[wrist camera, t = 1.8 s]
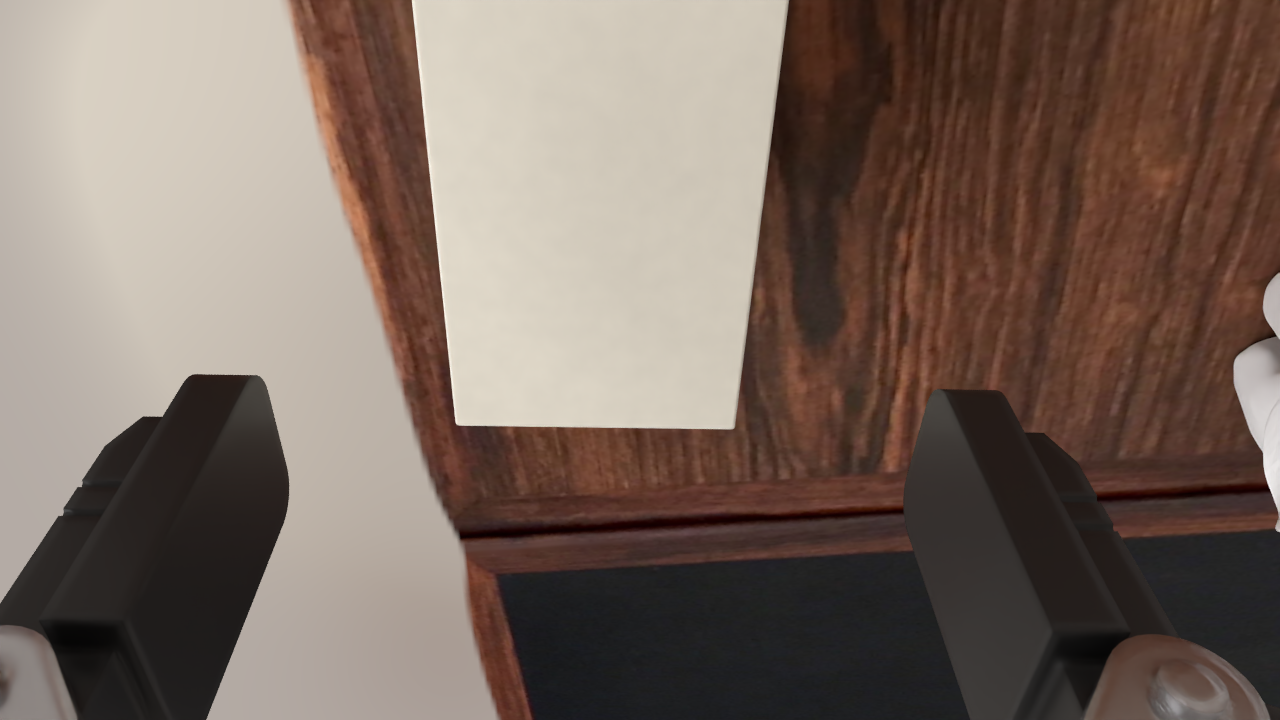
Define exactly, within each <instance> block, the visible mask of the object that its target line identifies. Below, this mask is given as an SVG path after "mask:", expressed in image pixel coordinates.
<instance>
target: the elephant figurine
mask: <svg viewBox="0 0 1280 720" xmlns="http://www.w3.org/2000/svg"><path fill="white" fill-rule="evenodd" d="M1263 311H1264V315H1265V318H1266V320H1267V322H1268V323H1269V325H1270V326H1271V328H1272V329H1273V331H1274V332H1275V334H1276V335H1277V336H1278V337H1273V338H1269V339H1265V340H1262V341H1260V342H1257V343H1255V344H1253V345H1251V346H1250V347H1248V348H1247V349H1246V350H1244V351H1243V352H1241V353H1240V354H1239V355H1238V356H1237V357H1236V359H1235V362H1234V385H1235V389H1236V392H1237V395H1238V398H1239V401H1240V403H1241V406H1242V409H1243V412H1244V415H1245V418H1246V421H1247V424H1248V427H1249V429H1250V432H1251V434H1252V436H1253V437H1254V439H1255V441H1256V442H1257V444H1258V446H1259V447H1260V449H1261V450H1262V452H1263V463H1264V471H1265V476H1266V479H1267V482H1268V485H1269V488H1270V490H1271V493H1272V495H1273V498H1274V501H1275V503H1276V506H1277V509H1278V513H1279V518H1278V521H1277V524H1276V527H1275V528H1276V530H1277V531H1278V532H1280V273H1278V274H1277V275H1276V276H1275V277H1274V278H1273V279H1272V280H1271V281H1270V283H1269V284H1268V286H1267V288H1266V291H1265V295H1264V301H1263Z"/></svg>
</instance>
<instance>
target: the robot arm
mask: <svg viewBox="0 0 1280 720" xmlns="http://www.w3.org/2000/svg"><path fill="white" fill-rule="evenodd" d="M82 481H83V485H82V487H78V488H77V489H76V491H75V492H74V494H73V495H72V497H71V498H70V500H69V501H68V503H67V504H66V506H65V507H64V514H63V516H58V518H57V519H56V521H55V522H54V524H53V525H52V527H51V528H50V530H49V531H48V533H47V534H46V536H45V537H44V539H43V540H42V542H41V543H40V545H39V546H38V548H37V549H36V551H35V552H34V554H33V555H32V557H31V558H30V560H29V561H28V563H27V564H26V566H25V567H24V569H23V570H22V572H21V573H20V575H19V576H18V578H17V579H16V581H15V582H14V584H13V585H12V587H11V588H10V590H9V591H8V593H7V594H6V596H5V597H4V599H3V600H2V602H1V603H0V720H206V719H207V716H208V714H209V711H210V708H211V706H212V703H213V701H214V698H215V696H216V693H217V691H218V688H219V686H220V683H221V681H222V678H223V676H224V673H225V670H226V668H227V665H228V663H229V660H230V658H231V655H232V653H233V650H234V647H235V645H236V643H237V640H238V638H239V635H240V632H241V630H242V627H243V625H244V622H245V620H246V617H247V615H248V612H249V610H250V607H251V605H252V602H253V599H254V597H255V594H256V591H257V589H258V587H259V584H260V582H261V579H262V577H263V574H264V572H265V569H266V566H267V564H268V561H269V559H270V556H271V554H272V551H273V548H274V546H275V543H276V541H277V539H278V536H279V533H280V530H281V528H282V526H283V523H284V520H285V517H286V512H287V507H288V500H289V477H288V471H287V466H286V462H285V458H284V454H283V450H282V446H281V442H280V438H279V434H278V430H277V426H276V422H275V418H274V414H273V410H272V406H271V402H270V398H269V394H268V390H267V387H266V385H265V382H264V381H263V379H262V378H261V377H260V376H257V375H202V374H195V375H191V376H189V377H188V378H187V379H186V380H185V381H184V383H183V385H182V386H181V388H180V389H179V391H178V392H177V394H176V396H175V398H174V399H173V401H172V402H171V404H170V406H169V407H168V409H167V410H166V412H165V414H164V415H163V417H142V418H141V419H139V420H138V421H137V422H135V423H134V424H133V425H132V426H130V427H129V428H128V429H126V430H125V431H124V432H123V433H121V434H120V435H119V436H117V437H116V438H115V439H113V440H112V441H111V442H110V443H108V444H107V445H106V446H105V447H104V449H103V450H102V451H101V453H100V454H99V456H98V457H97V459H96V461H95V462H94V463H93V465H92V467H91V468H90V469H89V471H88V473H87V474H86V476H85V477H84V478H83V480H82ZM904 518H905V524H906V529H907V532H908V535H909V538H910V541H911V544H912V547H913V550H914V553H915V556H916V559H917V562H918V565H919V568H920V571H921V574H922V577H923V580H924V583H925V586H926V589H927V592H928V595H929V598H930V601H931V604H932V607H933V610H934V613H935V616H936V619H937V622H938V625H939V628H940V630H941V633H942V636H943V639H944V642H945V645H946V648H947V651H948V654H949V657H950V660H951V663H952V666H953V669H954V672H955V675H956V678H957V681H958V684H959V687H960V690H961V693H962V696H963V699H964V702H965V705H966V708H967V711H968V714H969V717H970V720H1280V708H1278V707H1275V706H1271V705H1268V704H1265V703H1264V702H1263V701H1262V699H1261V697H1260V695H1259V694H1258V692H1257V691H1256V690H1255V689H1254V687H1253V686H1252V685H1251V683H1250V682H1249V681H1248V680H1247V679H1246V678H1245V677H1244V676H1243V675H1242V674H1241V673H1240V672H1239V671H1238V670H1236V669H1235V668H1234V667H1233V666H1232V665H1230V664H1229V663H1228V662H1226V661H1225V660H1223V659H1222V658H1220V657H1219V656H1217V655H1216V654H1214V653H1213V652H1211V651H1209V650H1207V649H1205V648H1203V647H1201V646H1199V645H1196V644H1194V643H1192V642H1189V641H1186V640H1183V639H1180V637H1179V636H1178V634H1177V633H1176V631H1175V629H1174V628H1173V626H1172V624H1171V622H1170V621H1169V619H1168V617H1167V615H1166V614H1165V612H1164V610H1163V609H1162V607H1161V605H1160V603H1159V602H1158V600H1157V598H1156V597H1155V595H1154V593H1153V591H1152V590H1151V588H1150V586H1149V585H1148V583H1147V581H1146V579H1145V578H1144V576H1143V574H1142V573H1141V571H1140V569H1139V567H1138V566H1137V564H1136V562H1135V561H1134V559H1133V557H1132V555H1131V554H1130V552H1129V550H1128V548H1127V547H1126V545H1125V543H1124V542H1123V540H1122V538H1121V536H1120V535H1119V533H1118V531H1113V523H1112V521H1111V519H1110V518H1109V516H1108V514H1107V512H1106V511H1105V509H1104V507H1103V506H1102V504H1101V503H1097V495H1096V494H1095V492H1094V490H1093V488H1092V487H1091V485H1090V483H1089V481H1088V480H1087V478H1086V476H1085V475H1084V473H1083V471H1082V469H1081V468H1080V466H1079V464H1078V463H1077V462H1076V461H1075V460H1074V459H1073V458H1072V457H1071V456H1069V455H1068V454H1067V453H1066V452H1065V451H1064V450H1062V449H1061V448H1060V447H1059V446H1058V445H1057V444H1056V443H1054V442H1053V441H1052V440H1051V439H1050V438H1049V437H1047V436H1046V435H1045V434H1044V433H1025V432H1024V430H1023V429H1022V427H1021V425H1020V423H1019V421H1018V419H1017V417H1016V416H1015V414H1014V412H1013V410H1012V408H1011V406H1010V404H1009V402H1008V401H1007V399H1006V397H1005V396H1004V395H1003V394H1002V393H1001V392H1000V391H997V390H950V389H937V390H935V391H934V392H933V393H932V394H931V395H930V397H929V400H928V402H927V405H926V409H925V413H924V416H923V420H922V424H921V427H920V431H919V434H918V438H917V442H916V445H915V449H914V452H913V456H912V460H911V463H910V467H909V470H908V474H907V478H906V482H905V488H904Z"/></svg>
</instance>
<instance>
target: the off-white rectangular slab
mask: <svg viewBox="0 0 1280 720" xmlns="http://www.w3.org/2000/svg"><path fill="white" fill-rule="evenodd" d="M788 4H789V0H412V6H413V16H414V25H415V35H416V45H417V54H418V64H419V73H420V83H421V93H422V102H423V112H424V122H425V131H426V141H427V151H428V160H429V170H430V180H431V189H432V199H433V209H434V218H435V228H436V238H437V247H438V257H439V266H440V276H441V286H442V295H443V305H444V315H445V324H446V334H447V344H448V353H449V363H450V373H451V382H452V392H453V402H454V411H455V421H456V424H457V425H459V426H532V427H605V428H678V429H734V427H735V421H736V413H737V405H738V397H739V389H740V382H741V374H742V366H743V358H744V350H745V342H746V334H747V327H748V319H749V311H750V303H751V295H752V287H753V279H754V271H755V264H756V256H757V248H758V240H759V232H760V224H761V216H762V209H763V201H764V193H765V185H766V177H767V169H768V161H769V154H770V146H771V138H772V130H773V122H774V114H775V106H776V99H777V91H778V83H779V75H780V67H781V59H782V51H783V44H784V36H785V28H786V20H787V12H788Z"/></svg>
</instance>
